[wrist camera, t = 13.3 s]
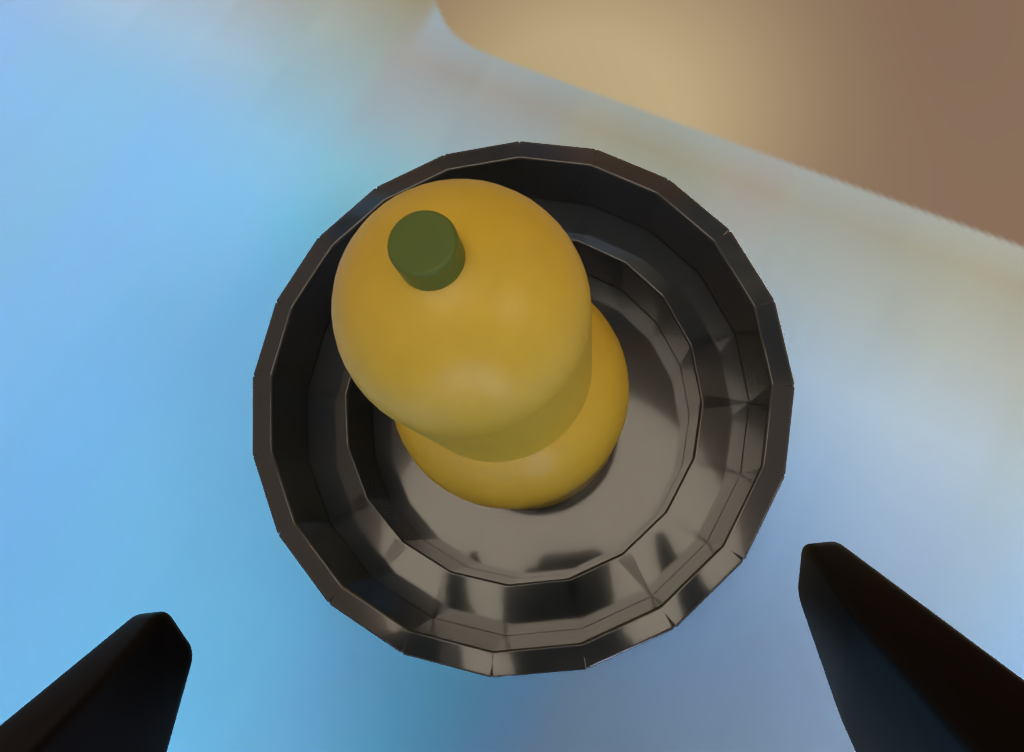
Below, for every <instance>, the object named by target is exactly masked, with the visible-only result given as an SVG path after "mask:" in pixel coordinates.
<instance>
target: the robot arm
mask: <svg viewBox="0 0 1024 752" xmlns="http://www.w3.org/2000/svg"><path fill="white" fill-rule="evenodd" d="M798 590H799V597H800V601H801V605H802V608H803V611H804V614H805V617H806V619H807V622H808V625H809V628H810V631H811V634H812V637H813V640H814V642H815V645H816V648H817V651H818V654H819V657H820V660H821V663H822V665H823V668H824V671H825V674H826V677H827V680H828V683H829V686H830V689H831V691H832V694H833V697H834V700H835V703H836V706H837V708H838V711H839V714H840V716H841V719H842V722H843V724H844V726H845V728H846V731H847V733H848V735H849V738H850V740H851V742H852V744H853V746H854V749H855V751H856V752H1024V680H1023V679H1021V678H1020V677H1019V676H1017V675H1016V674H1015V673H1013V672H1012V671H1011V670H1009V669H1008V668H1007V667H1005V666H1004V665H1002V664H1001V663H1000V662H998V661H997V660H996V659H994V658H993V657H992V656H990V655H989V654H988V653H986V652H985V651H984V650H982V649H981V648H980V647H978V646H977V645H976V644H974V643H973V642H972V641H970V640H969V639H968V638H966V637H965V636H964V635H962V634H961V633H960V632H958V631H957V630H955V629H954V628H953V627H951V626H950V625H949V624H947V623H946V622H945V621H943V620H942V619H941V618H939V617H938V616H937V615H935V614H934V613H933V612H931V611H930V610H929V609H927V608H926V607H925V606H923V605H922V604H921V603H919V602H918V601H917V600H915V599H914V598H912V597H911V596H910V595H908V594H907V593H906V592H904V591H903V590H902V589H900V588H899V587H898V586H896V585H895V584H894V583H892V582H891V581H890V580H888V579H887V578H886V577H884V576H883V575H882V574H880V573H879V572H878V571H876V570H875V569H874V568H872V567H871V566H870V565H868V564H867V563H865V562H864V561H863V560H861V559H860V558H859V557H857V556H856V555H855V554H853V553H852V552H851V551H849V550H848V549H847V548H845V547H844V546H843V545H841V544H839V543H836V542H823V543H813V544H807V545H805V546H804V548H803V550H802V554H801V564H800V574H799V584H798ZM191 662H192V649H191V646H190V644H189V642H188V641H187V639H186V638H185V636H184V635H183V633H182V632H181V631H180V629H179V628H178V626H177V625H176V623H175V622H174V620H173V619H172V617H171V616H170V615H169V614H167V613H165V612H153V613H144V614H139V615H136V616H134V617H132V618H131V619H130V620H128V621H127V622H126V623H125V624H124V625H122V626H121V627H120V628H119V629H118V630H116V631H115V632H114V633H113V634H111V635H110V636H109V637H108V638H107V639H105V640H104V641H103V642H102V643H100V644H99V645H98V646H97V647H96V648H94V649H93V650H92V651H91V652H90V653H88V654H87V655H86V656H85V657H83V658H82V659H81V660H80V661H79V662H77V663H76V664H75V665H74V666H72V667H71V668H70V669H69V670H68V671H66V672H65V673H64V674H63V675H61V676H60V677H59V678H58V679H57V680H55V681H54V682H53V683H52V684H50V685H49V686H48V687H47V688H46V689H44V690H43V691H42V692H41V693H40V694H38V695H37V696H36V697H35V698H33V699H32V700H31V701H30V702H29V703H27V704H26V705H25V706H24V707H22V708H21V709H20V710H19V711H18V712H16V713H15V714H14V715H13V716H11V717H10V718H9V719H8V720H7V721H5V722H4V723H3V724H2V725H1V726H0V752H167V749H168V745H169V741H170V738H171V734H172V731H173V727H174V724H175V720H176V716H177V713H178V709H179V706H180V702H181V698H182V695H183V691H184V688H185V684H186V681H187V677H188V673H189V670H190V666H191Z"/></svg>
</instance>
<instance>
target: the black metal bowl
mask: <svg viewBox="0 0 1024 752" xmlns="http://www.w3.org/2000/svg"><path fill="white" fill-rule="evenodd" d="M448 179H474V180H482V181H487V182H491V183H495V184H498V185H501V186H504V187H506V188H509V189H511V190H514V191H517V192H518V193H520V194H522V195H524V196H526V197H528V198H529V199H531V200H532V201H534V202H535V203H536V204H538V205H539V206H540V207H542V208H543V209H544V210H545V211H546V212H548V213H549V214H550V215H551V216H552V217H553V218H554V219H555V220H556V221H557V222H558V223H559V224H560V226H561V227H562V228H563V230H564V231H565V232H566V233H567V235H568V236H569V238H570V240H571V241H572V243H573V245H574V247H575V248H576V250H577V252H578V254H579V256H580V258H581V261H582V263H583V266H584V268H585V272H586V275H587V279H588V283H589V287H590V295H591V303H592V304H593V305H594V306H595V307H596V308H597V309H598V310H599V311H600V312H601V313H602V315H603V316H604V317H605V319H606V320H607V321H608V323H609V324H610V326H611V327H612V329H613V331H614V333H615V334H616V336H617V338H618V340H619V343H620V345H621V348H622V350H623V353H624V357H625V361H626V365H627V370H628V380H629V403H628V409H627V415H626V419H625V422H624V426H623V429H622V432H621V434H620V436H619V439H618V441H617V443H616V445H615V447H614V449H613V451H612V453H611V455H610V458H609V460H608V462H607V463H606V465H605V466H604V468H603V469H602V471H601V472H600V473H599V475H598V476H597V477H596V478H595V479H594V480H593V482H591V483H590V484H589V485H588V486H587V487H586V488H585V489H584V490H582V491H581V492H579V493H578V494H576V495H575V496H573V497H571V498H569V499H567V500H565V501H563V502H561V503H558V504H556V505H553V506H550V507H545V508H540V509H529V510H521V509H500V508H490V507H486V506H481V505H477V504H474V503H471V502H468V501H466V500H463V499H461V498H459V497H457V496H455V495H453V494H451V493H449V492H448V491H446V490H445V489H443V488H442V487H440V486H439V485H438V484H436V483H435V482H433V481H432V480H431V479H430V478H429V477H428V476H427V475H426V474H425V473H424V472H423V471H422V470H421V469H420V468H419V466H418V465H417V464H416V463H415V462H414V460H413V459H412V457H411V456H410V454H409V452H408V451H407V449H406V447H405V446H404V444H403V442H402V440H401V437H400V435H399V433H398V430H397V428H396V424H395V421H394V420H393V419H392V418H390V417H389V416H387V415H386V414H384V413H383V412H382V411H380V410H379V409H378V408H377V407H376V406H375V405H374V404H373V403H372V402H371V401H369V399H368V398H367V397H366V396H365V395H364V394H363V393H362V391H361V390H360V389H359V388H358V386H357V385H356V384H355V382H354V380H353V379H352V377H351V375H350V374H349V372H348V370H347V369H346V367H345V365H344V363H343V361H342V358H341V356H340V353H339V351H338V347H337V343H336V339H335V335H334V331H333V324H332V315H331V306H332V293H333V286H334V280H335V275H336V272H337V269H338V265H339V262H340V260H341V258H342V255H343V253H344V251H345V249H346V247H347V245H348V244H349V242H350V240H351V239H352V237H353V236H354V234H355V233H356V232H357V230H358V229H359V228H360V226H361V225H362V224H363V223H364V222H365V220H366V219H367V218H368V217H369V216H370V215H371V214H372V213H373V212H374V211H376V210H377V209H378V208H379V207H380V206H382V205H383V204H384V203H386V202H387V201H389V200H390V199H392V198H393V197H395V196H397V195H399V194H400V193H402V192H404V191H406V190H408V189H411V188H414V187H417V186H419V185H422V184H426V183H430V182H434V181H440V180H448ZM773 301H774V300H773V298H772V296H771V295H770V293H769V291H768V290H767V288H766V287H765V285H764V283H763V282H762V280H761V279H760V277H759V276H758V274H757V272H756V271H755V269H754V268H753V266H752V264H751V263H750V261H749V260H748V258H747V256H746V255H745V253H744V252H743V250H742V248H741V247H740V245H739V244H738V242H737V240H736V239H735V237H734V236H733V234H732V233H731V232H729V229H728V228H727V227H725V226H724V225H723V224H722V223H721V222H719V221H718V220H717V219H716V218H715V217H713V216H712V215H711V214H710V213H709V212H707V211H706V210H705V209H704V208H702V207H701V206H700V205H699V204H698V203H696V202H695V201H694V200H693V199H692V198H690V197H689V196H688V195H687V194H686V193H684V192H683V191H682V190H681V189H680V188H678V187H677V186H676V185H675V184H674V183H672V182H671V181H670V180H667V179H666V178H664V177H662V176H659V175H657V174H655V173H652V172H650V171H647V170H645V169H642V168H640V167H638V166H635V165H633V164H630V163H628V162H625V161H623V160H621V159H618V158H616V157H613V156H611V155H608V154H606V153H604V152H601V151H599V150H595V149H589V148H579V147H569V146H560V145H550V144H540V143H531V142H520V143H519V142H513V143H507V144H502V145H496V146H490V147H485V148H479V149H473V150H468V151H462V152H457V153H451V154H446V155H445V156H441V157H439V158H437V159H435V160H432V161H430V162H428V163H426V164H424V165H422V166H420V167H418V168H416V169H414V170H412V171H409V172H407V173H405V174H403V175H401V176H399V177H397V178H395V179H393V180H391V181H389V182H386V183H384V184H382V185H380V186H378V187H377V189H374V190H373V191H371V192H370V193H369V194H368V195H367V196H366V197H364V198H363V199H362V200H361V201H360V202H359V203H358V204H356V205H355V206H354V207H353V208H352V209H351V210H350V211H348V212H347V213H346V214H345V215H344V216H343V217H341V218H340V219H339V220H338V221H337V222H336V223H335V224H333V225H332V226H331V227H330V228H329V229H328V230H327V231H325V232H324V233H323V234H322V235H321V236H320V238H318V239H317V240H316V242H315V243H314V245H313V246H312V248H311V249H310V251H309V252H308V254H307V255H306V257H305V258H304V260H303V261H302V263H301V264H300V266H299V268H298V269H297V271H296V272H295V274H294V275H293V277H292V278H291V280H290V281H289V283H288V284H287V286H286V287H285V289H284V290H283V292H282V293H281V295H280V296H279V298H278V300H277V302H278V303H276V304H275V308H274V311H273V314H272V317H271V321H270V324H269V327H268V330H267V334H266V337H265V340H264V343H263V347H262V350H261V353H260V356H259V360H258V363H257V366H256V369H255V373H254V377H253V456H254V460H255V463H256V467H257V470H258V473H259V476H260V479H261V482H262V485H263V489H264V492H265V495H266V498H267V501H268V504H269V507H270V511H271V514H272V517H273V520H274V523H275V526H276V529H277V532H278V533H279V536H280V538H281V539H282V540H283V542H284V543H285V545H286V546H287V547H288V549H289V550H290V551H291V553H292V554H293V555H294V557H295V558H296V559H297V561H298V562H299V564H300V565H301V566H302V568H303V569H304V570H305V572H306V573H307V574H308V576H309V577H310V579H311V580H312V581H313V583H314V584H315V585H316V587H317V588H318V589H319V591H320V592H321V594H322V595H323V596H324V598H325V599H326V600H327V601H328V602H330V604H331V605H332V606H333V607H335V608H336V609H337V610H339V611H340V612H342V613H343V614H345V615H346V616H348V617H349V618H351V619H352V620H354V621H355V622H356V623H358V624H359V625H361V626H362V627H364V628H365V629H367V630H368V631H370V632H371V633H373V634H374V635H375V636H377V637H378V638H380V639H381V640H383V641H384V642H386V643H387V644H389V645H390V646H392V647H393V648H394V649H396V650H397V651H399V652H401V653H402V652H403V654H404V655H407V656H411V657H415V658H419V659H423V660H427V661H430V662H434V663H438V664H442V665H446V666H449V667H453V668H457V669H461V670H465V671H468V672H472V673H476V674H480V675H484V676H487V677H505V676H516V675H528V674H539V673H550V672H561V671H573V670H584V669H587V668H591V667H593V666H595V665H597V664H599V663H601V662H604V661H606V660H608V659H610V658H612V657H614V656H617V655H619V654H621V653H623V652H625V651H627V650H630V649H632V648H634V647H636V646H638V645H640V644H642V643H645V642H647V641H649V640H651V639H653V638H655V637H658V636H660V635H662V634H664V633H666V632H668V631H671V630H673V628H674V627H677V626H678V625H679V624H680V623H681V622H682V621H683V620H684V619H685V618H686V617H687V616H688V615H689V614H690V613H691V612H692V611H693V610H694V609H695V608H697V607H698V606H699V605H700V604H701V603H702V602H703V601H704V600H705V599H706V598H707V597H708V596H709V595H710V594H711V593H712V592H713V591H714V590H715V589H716V588H717V587H718V586H719V585H720V584H721V583H722V582H723V581H724V580H725V579H726V578H727V577H728V576H729V575H730V574H731V573H732V572H733V571H734V570H735V569H736V568H737V567H738V566H739V565H740V564H741V563H742V562H743V560H744V559H745V558H746V556H747V554H748V552H749V550H750V548H751V546H752V543H753V541H754V539H755V537H756V535H757V533H758V531H759V529H760V527H761V525H762V523H763V521H764V519H765V517H766V514H767V512H768V510H769V508H770V506H771V504H772V502H773V500H774V498H775V496H776V494H777V492H778V490H779V487H780V485H781V483H782V481H783V479H784V474H785V471H786V461H787V452H788V443H789V433H790V424H791V415H792V405H793V396H794V386H793V385H794V381H793V377H792V373H791V368H790V364H789V360H788V356H787V351H786V347H785V343H784V339H783V334H782V330H781V326H780V322H779V317H778V313H777V309H776V305H775V303H774V302H773ZM742 559H743V560H742Z"/></svg>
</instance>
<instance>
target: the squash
mask: <svg viewBox="0 0 1024 752" xmlns="http://www.w3.org/2000/svg"><path fill="white" fill-rule="evenodd" d="M331 315H332V324H333V331H334V335H335V339H336V343H337V347H338V351H339V353H340V356H341V358H342V361H343V363H344V365H345V367H346V369H347V370H348V372H349V374H350V375H351V377H352V379H353V380H354V382H355V384H356V385H357V386H358V388H359V389H360V390H361V391H362V393H363V394H364V395H365V396H366V397H367V398H368V399H369V401H371V402H372V403H373V404H374V405H375V406H376V407H377V408H378V409H379V410H380V411H382V412H383V413H384V414H386V415H387V416H389V417H390V418H392V419H393V420H394V421H395V424H396V428H397V430H398V433H399V435H400V437H401V440H402V442H403V444H404V446H405V447H406V449H407V451H408V452H409V454H410V456H411V457H412V459H413V460H414V462H415V463H416V464H417V465H418V466H419V468H420V469H421V470H422V471H423V472H424V473H425V474H426V475H427V476H428V477H429V478H430V479H431V480H432V481H433V482H435V483H436V484H438V485H439V486H440V487H442V488H443V489H445V490H446V491H448V492H449V493H451V494H453V495H455V496H457V497H459V498H461V499H463V500H466V501H468V502H471V503H474V504H477V505H481V506H486V507H490V508H500V509H521V510H529V509H540V508H545V507H550V506H553V505H556V504H558V503H561V502H563V501H565V500H567V499H569V498H571V497H573V496H575V495H576V494H578V493H579V492H581V491H582V490H584V489H585V488H586V487H587V486H588V485H589V484H590V483H591V482H593V480H594V479H595V478H596V477H597V476H598V475H599V473H600V472H601V471H602V469H603V468H604V466H605V465H606V463H607V462H608V460H609V458H610V455H611V453H612V451H613V449H614V447H615V445H616V443H617V441H618V439H619V436H620V434H621V432H622V429H623V426H624V422H625V419H626V415H627V409H628V403H629V380H628V370H627V365H626V361H625V357H624V353H623V350H622V348H621V345H620V343H619V340H618V338H617V336H616V334H615V333H614V331H613V329H612V327H611V326H610V324H609V323H608V321H607V320H606V319H605V317H604V316H603V315H602V313H601V312H600V311H599V310H598V309H597V308H596V307H595V306H594V305H593V304H592V303H591V295H590V287H589V283H588V279H587V275H586V272H585V268H584V266H583V263H582V261H581V258H580V256H579V254H578V252H577V250H576V248H575V247H574V245H573V243H572V241H571V240H570V238H569V236H568V235H567V233H566V232H565V231H564V230H563V228H562V227H561V226H560V224H559V223H558V222H557V221H556V220H555V219H554V218H553V217H552V216H551V215H550V214H549V213H548V212H546V211H545V210H544V209H543V208H542V207H540V206H539V205H538V204H536V203H535V202H534V201H532V200H531V199H529V198H528V197H526V196H524V195H522V194H520V193H518V192H517V191H514V190H511V189H509V188H506V187H504V186H501V185H498V184H495V183H491V182H487V181H482V180H474V179H448V180H440V181H434V182H430V183H426V184H422V185H419V186H417V187H414V188H411V189H408V190H406V191H404V192H402V193H400V194H399V195H397V196H395V197H393V198H392V199H390V200H389V201H387V202H386V203H384V204H383V205H382V206H380V207H379V208H378V209H377V210H376V211H374V212H373V213H372V214H371V215H370V216H369V217H368V218H367V219H366V220H365V222H364V223H363V224H362V225H361V226H360V228H359V229H358V230H357V232H356V233H355V234H354V236H353V237H352V239H351V240H350V242H349V244H348V245H347V247H346V249H345V251H344V253H343V255H342V258H341V260H340V262H339V265H338V269H337V272H336V275H335V280H334V286H333V293H332V306H331Z"/></svg>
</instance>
